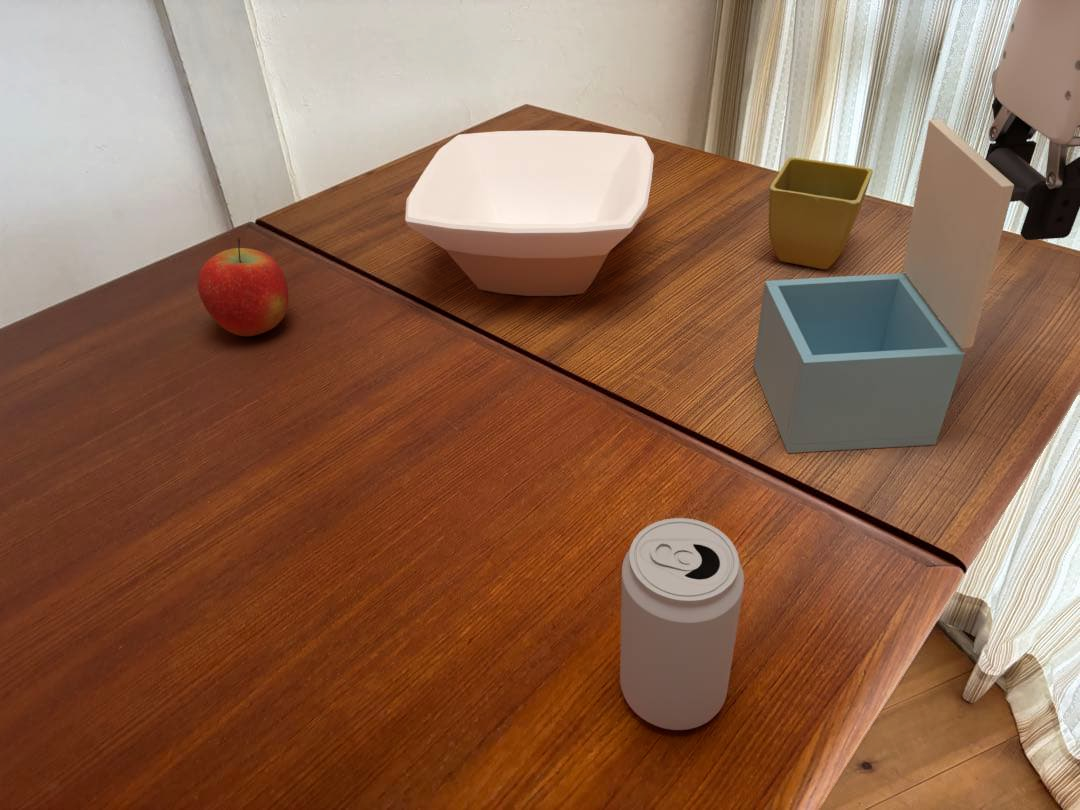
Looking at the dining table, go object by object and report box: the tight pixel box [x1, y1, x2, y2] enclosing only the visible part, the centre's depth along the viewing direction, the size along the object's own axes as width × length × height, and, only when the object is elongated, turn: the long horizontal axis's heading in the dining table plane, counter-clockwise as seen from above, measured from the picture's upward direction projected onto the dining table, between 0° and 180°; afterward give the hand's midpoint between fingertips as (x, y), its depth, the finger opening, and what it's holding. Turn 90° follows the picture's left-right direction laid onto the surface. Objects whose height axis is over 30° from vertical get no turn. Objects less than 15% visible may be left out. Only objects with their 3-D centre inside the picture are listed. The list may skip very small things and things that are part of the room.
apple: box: [197, 236, 290, 337], centre depth 82 cm, size 8×8×10 cm
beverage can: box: [619, 517, 745, 731], centre depth 48 cm, size 6×6×12 cm
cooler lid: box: [901, 118, 1046, 349], centre depth 62 cm, size 13×12×5 cm
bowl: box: [404, 129, 655, 297], centre depth 89 cm, size 24×25×11 cm
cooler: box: [752, 272, 966, 454], centre depth 69 cm, size 12×12×9 cm
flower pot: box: [768, 156, 874, 270], centre depth 89 cm, size 9×9×9 cm
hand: (1020, 212), depth 61 cm, fingers closed on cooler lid, 6 cm apart
